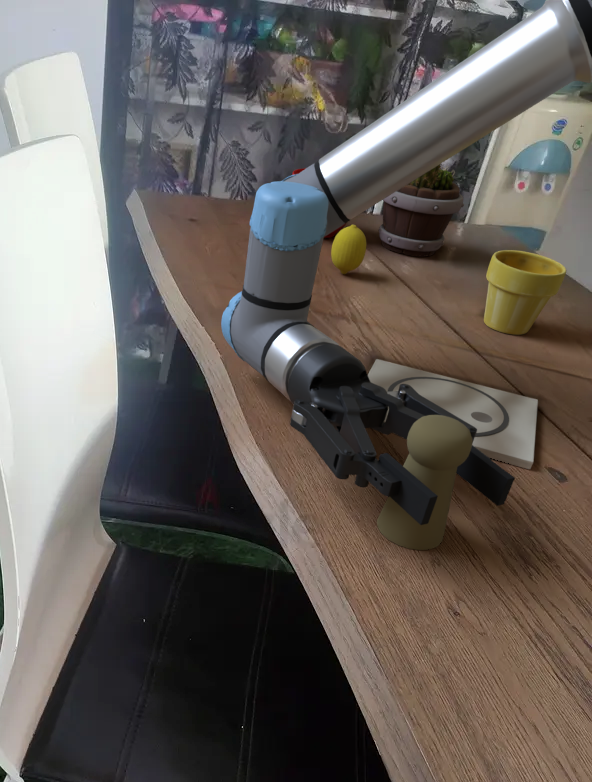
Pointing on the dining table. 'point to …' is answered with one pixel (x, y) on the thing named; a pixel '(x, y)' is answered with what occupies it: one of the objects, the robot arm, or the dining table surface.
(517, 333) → the flower pot
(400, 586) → the dining table surface
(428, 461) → the olive pawn
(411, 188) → the flowerpot
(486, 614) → the dining table surface
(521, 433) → the drawing sheet
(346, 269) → the lemon
